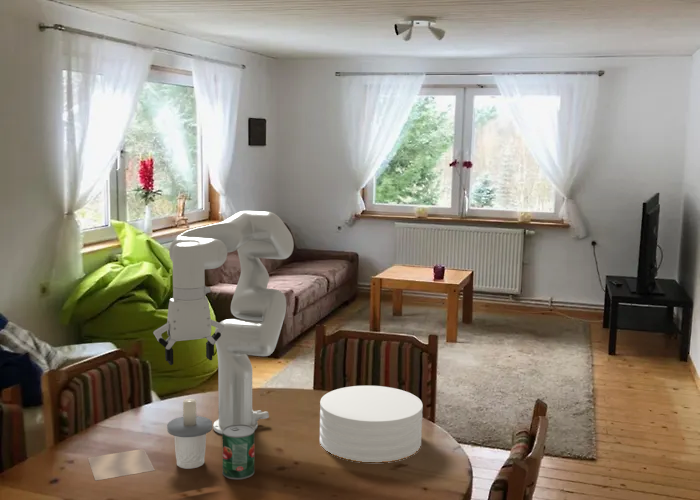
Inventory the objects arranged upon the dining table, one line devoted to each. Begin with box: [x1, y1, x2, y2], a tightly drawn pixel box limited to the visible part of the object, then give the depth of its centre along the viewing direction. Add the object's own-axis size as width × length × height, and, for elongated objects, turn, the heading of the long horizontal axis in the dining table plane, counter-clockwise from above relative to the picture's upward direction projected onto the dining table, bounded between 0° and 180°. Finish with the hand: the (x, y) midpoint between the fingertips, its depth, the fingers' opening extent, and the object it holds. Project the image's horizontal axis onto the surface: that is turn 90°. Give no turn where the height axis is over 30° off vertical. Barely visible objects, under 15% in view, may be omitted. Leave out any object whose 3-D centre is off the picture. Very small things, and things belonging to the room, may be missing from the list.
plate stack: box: [319, 385, 424, 462], centre depth 205 cm, size 28×28×12 cm
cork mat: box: [87, 448, 156, 481], centre depth 186 cm, size 14×14×1 cm
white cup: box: [173, 433, 207, 470], centre depth 187 cm, size 8×8×10 cm
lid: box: [166, 398, 213, 437], centre depth 186 cm, size 11×11×7 cm
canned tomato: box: [221, 424, 256, 480], centre depth 184 cm, size 8×8×11 cm
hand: (190, 361), depth 184 cm, fingers open, 9 cm apart
